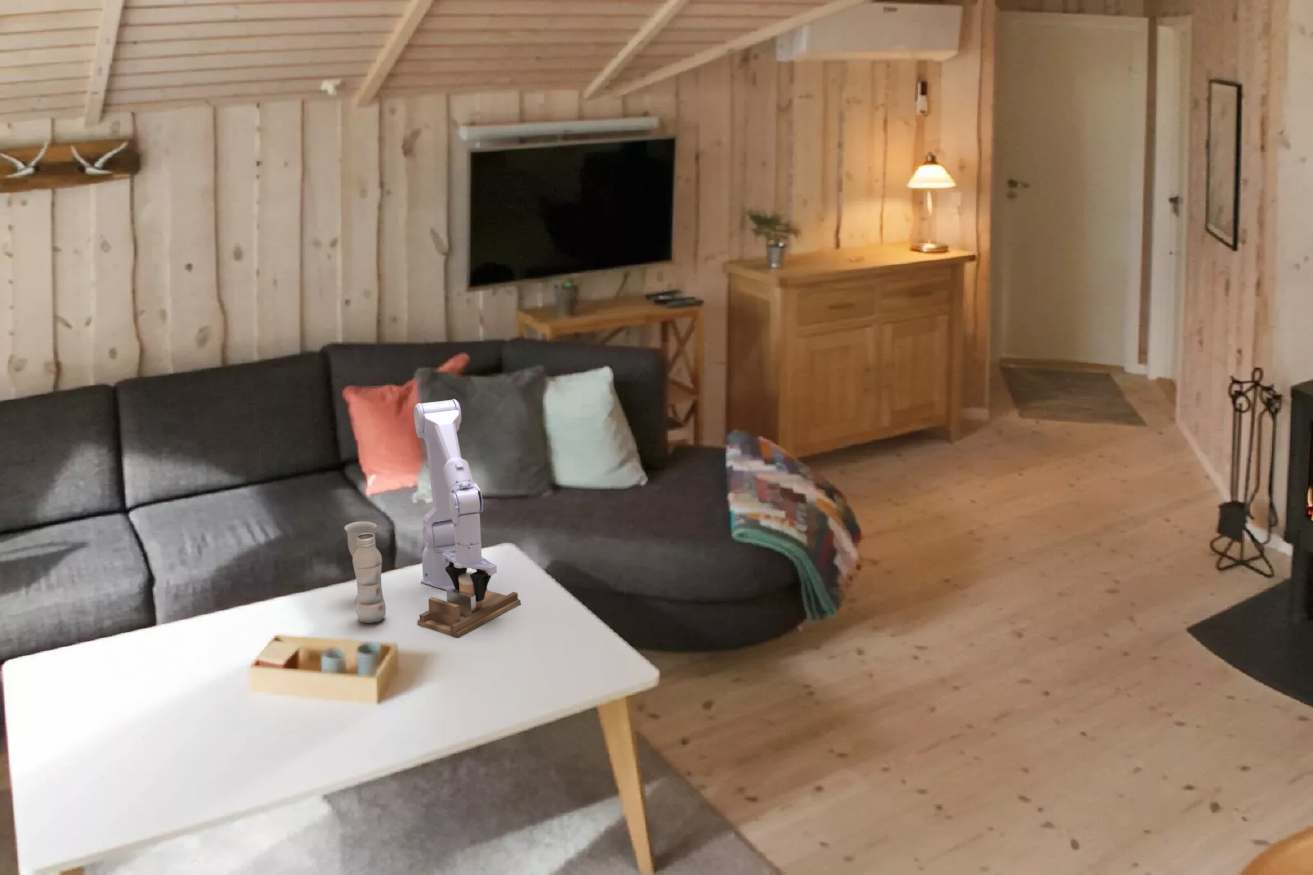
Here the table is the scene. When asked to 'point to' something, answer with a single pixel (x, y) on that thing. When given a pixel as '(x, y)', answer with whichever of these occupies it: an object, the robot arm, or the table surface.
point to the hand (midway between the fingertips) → (470, 597)
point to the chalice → (355, 531)
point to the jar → (468, 586)
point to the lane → (454, 624)
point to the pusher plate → (462, 601)
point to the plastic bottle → (368, 580)
